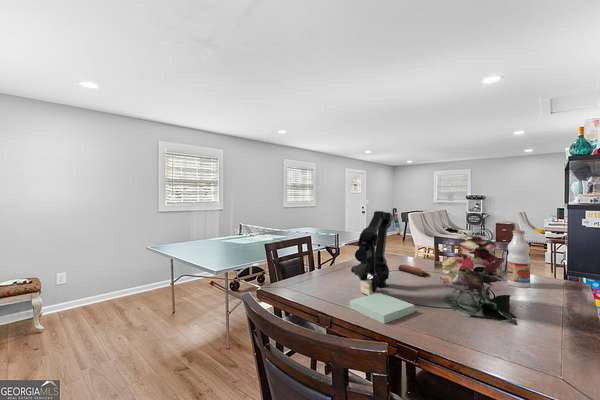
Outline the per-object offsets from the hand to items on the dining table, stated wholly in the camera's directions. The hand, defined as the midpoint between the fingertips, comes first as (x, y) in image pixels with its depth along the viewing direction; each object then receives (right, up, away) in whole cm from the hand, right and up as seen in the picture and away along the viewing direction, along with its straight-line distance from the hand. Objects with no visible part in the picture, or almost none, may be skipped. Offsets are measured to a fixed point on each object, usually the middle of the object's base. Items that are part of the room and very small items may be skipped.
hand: (369, 290), depth 136 cm
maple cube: (0, -1, 0) cm, 1 cm away
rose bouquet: (+40, -2, -17) cm, 43 cm away
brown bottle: (+36, -2, +36) cm, 51 cm away
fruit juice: (+80, -1, +12) cm, 81 cm away
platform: (0, -2, -19) cm, 19 cm away
